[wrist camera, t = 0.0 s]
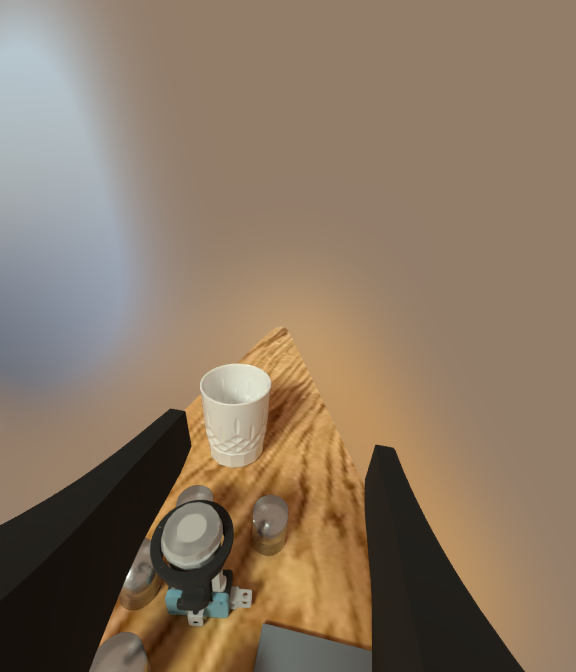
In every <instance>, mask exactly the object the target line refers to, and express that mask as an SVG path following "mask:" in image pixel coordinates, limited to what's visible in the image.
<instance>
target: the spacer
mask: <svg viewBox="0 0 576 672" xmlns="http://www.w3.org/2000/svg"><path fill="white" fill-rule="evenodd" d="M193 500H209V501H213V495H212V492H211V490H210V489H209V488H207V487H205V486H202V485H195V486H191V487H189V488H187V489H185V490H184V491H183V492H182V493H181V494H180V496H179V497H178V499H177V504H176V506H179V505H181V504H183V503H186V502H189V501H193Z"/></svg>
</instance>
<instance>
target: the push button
mask: <svg viewBox="0 0 576 672" xmlns="http://www.w3.org/2000/svg"><path fill="white" fill-rule="evenodd" d="M222 535H224V541H223V544H222V547H221V538H222ZM233 537H234V531H233V523H232V520H231V518H230V515H229V514H228V512H227V511H226V510H225V509H224V508H223V507H222V506H221V505H219V504H217V503H215V502H213V501H209V500H193V501H189V502H186V503H183V504H181V505H179V506H177V507H176V508H174V509H173V510H171V511H170V512H169V513H168V514H167V515H166V516H165V517H164V518H163V519H162V520H161V521H160V523H159V524H158V526H157V527H156V529H155V531H154V534H153V536H152V539H151V544H150V558H151V562H152V566H153V568H154V570H155V572H156V573H157V575H158V576H159V577H160V578H161V579H162V580H164V581H165V582H166V583H167V585H168V586H169V588H168V591H167V594H166V598H165V601H166V605H167V611H168V613H169V614H171V615H188V622H189V625H191V626H203V625H204V624H203V618H202V617H217V618H227V617H228V615H229V609H237V607H242V608H250V607H251V601H252V590H247V589H239V587H237V586H232V582H233V572H232V571H231V570H224V569H222V568H223V565H224V563H225V561H226V559H227V557H228V555H229V553H230V551H231V548H232V544H233ZM163 554H164V556H165V557H166V558H167V561H168V565H169V566H167V565H166V563H165V562H164V561H163V559H162V558H163ZM244 593H247V594H248V595H243V594H244ZM243 602H247V604H243ZM194 621H197V622H199V623H194Z"/></svg>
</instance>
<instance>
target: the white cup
mask: <svg viewBox="0 0 576 672" xmlns="http://www.w3.org/2000/svg"><path fill="white" fill-rule="evenodd" d="M200 391H201V398H202V406H203V413H204V421H205V428H206V432H207V437H208V439H209V447H210V452H211V456H212V458H213V459H214V460H216V461H217V462H218V463H219V464H220V465H223V466H226V467H230V468H236V467H244V466H247V465H249V464H251V463H253V462H255V461H256V460H257V458H258V457H259V456H260V455H261V454H262V451H263V445H264V436H265V433H266V426H267V420H268V411H269V401H270V391H271V379H270V377H269V375H268V374H267V373H266V372H265V371H263V370H262V369H260V368H258V367H255V366H252V365H248V364H227V365H223V366H219V367H217V368H214V369H212V370H211V371H209V372H208V373H206V374H205V375H204V377H203V378H202V380H201V382H200Z"/></svg>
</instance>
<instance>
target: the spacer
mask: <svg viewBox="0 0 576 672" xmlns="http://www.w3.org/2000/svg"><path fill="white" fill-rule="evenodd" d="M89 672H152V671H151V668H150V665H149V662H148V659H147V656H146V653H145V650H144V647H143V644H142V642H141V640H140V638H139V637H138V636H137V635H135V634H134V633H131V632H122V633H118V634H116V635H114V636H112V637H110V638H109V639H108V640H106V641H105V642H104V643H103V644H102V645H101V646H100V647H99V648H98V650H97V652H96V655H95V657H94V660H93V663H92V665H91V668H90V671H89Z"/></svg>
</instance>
